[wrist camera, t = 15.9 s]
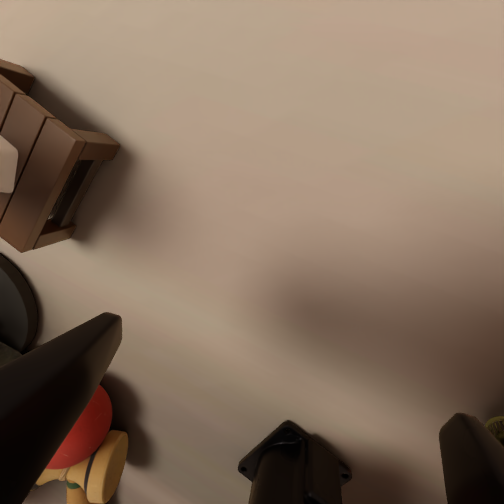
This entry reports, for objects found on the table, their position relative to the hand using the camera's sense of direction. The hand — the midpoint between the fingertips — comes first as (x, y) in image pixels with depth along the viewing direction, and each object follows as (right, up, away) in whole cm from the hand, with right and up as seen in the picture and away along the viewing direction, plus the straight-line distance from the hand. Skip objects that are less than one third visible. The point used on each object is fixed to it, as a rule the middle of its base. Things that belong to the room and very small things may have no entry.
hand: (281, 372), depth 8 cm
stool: (-15, +10, +13) cm, 22 cm away
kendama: (-15, -14, +20) cm, 29 cm away
